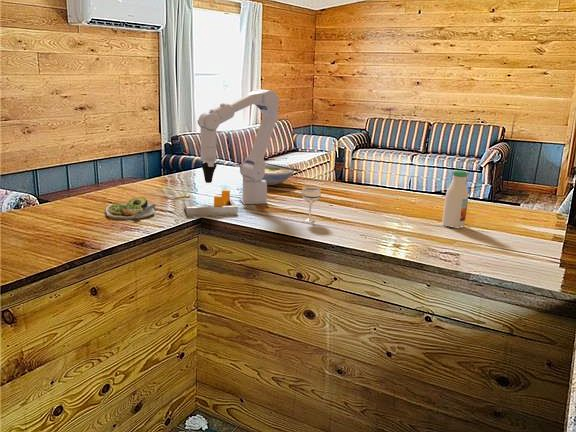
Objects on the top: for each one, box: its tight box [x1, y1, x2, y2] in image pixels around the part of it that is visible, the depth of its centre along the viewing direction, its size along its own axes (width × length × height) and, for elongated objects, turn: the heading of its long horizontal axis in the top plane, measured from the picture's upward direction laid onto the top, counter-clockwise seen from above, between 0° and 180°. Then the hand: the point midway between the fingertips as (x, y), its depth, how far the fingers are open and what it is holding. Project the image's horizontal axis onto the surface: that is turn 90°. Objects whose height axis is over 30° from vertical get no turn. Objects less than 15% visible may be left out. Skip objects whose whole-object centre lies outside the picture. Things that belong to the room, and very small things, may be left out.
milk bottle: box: [442, 169, 469, 227], centre depth 186 cm, size 8×8×20 cm
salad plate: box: [105, 196, 157, 221], centre depth 185 cm, size 19×18×5 cm
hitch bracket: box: [183, 199, 239, 217], centre depth 193 cm, size 18×12×3 cm, turn 106°
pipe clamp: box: [213, 189, 231, 206], centre depth 196 cm, size 12×4×6 cm, turn 171°
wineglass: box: [301, 185, 322, 221], centre depth 186 cm, size 7×7×12 cm
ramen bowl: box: [262, 162, 302, 186], centre depth 243 cm, size 25×23×8 cm
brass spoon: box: [173, 194, 191, 200], centre depth 212 cm, size 6×2×1 cm, turn 126°
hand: (208, 182), depth 197 cm, fingers closed
